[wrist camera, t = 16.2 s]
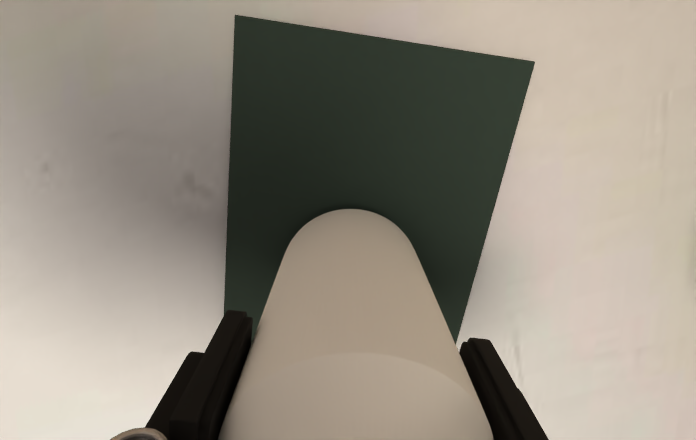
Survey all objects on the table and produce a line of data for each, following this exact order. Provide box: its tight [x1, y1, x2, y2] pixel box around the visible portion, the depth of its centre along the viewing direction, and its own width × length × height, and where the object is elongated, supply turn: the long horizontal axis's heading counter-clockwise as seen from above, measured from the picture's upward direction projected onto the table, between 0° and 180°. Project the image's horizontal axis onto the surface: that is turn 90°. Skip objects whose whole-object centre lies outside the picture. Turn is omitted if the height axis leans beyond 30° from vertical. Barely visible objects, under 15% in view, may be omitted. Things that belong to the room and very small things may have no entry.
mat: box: [224, 15, 535, 345], centre depth 18 cm, size 20×12×1 cm, turn 172°
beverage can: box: [218, 209, 494, 440], centre depth 12 cm, size 6×6×12 cm
